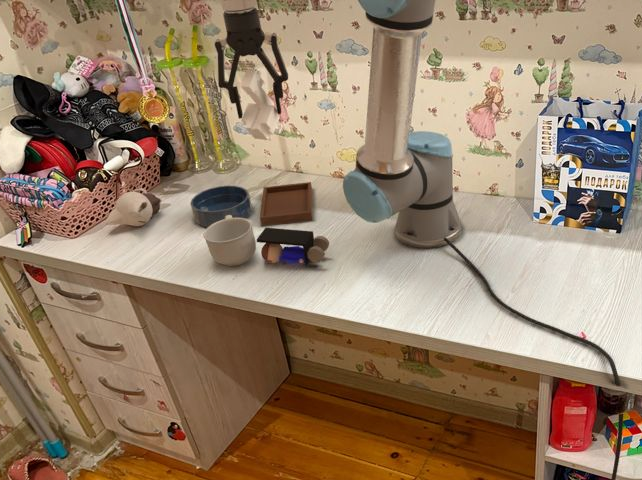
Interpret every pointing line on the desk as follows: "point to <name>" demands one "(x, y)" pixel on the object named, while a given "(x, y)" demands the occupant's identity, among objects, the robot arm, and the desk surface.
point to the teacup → (231, 240)
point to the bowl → (220, 204)
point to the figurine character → (295, 254)
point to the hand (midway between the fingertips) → (260, 114)
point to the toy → (134, 208)
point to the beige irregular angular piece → (259, 108)
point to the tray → (286, 204)
